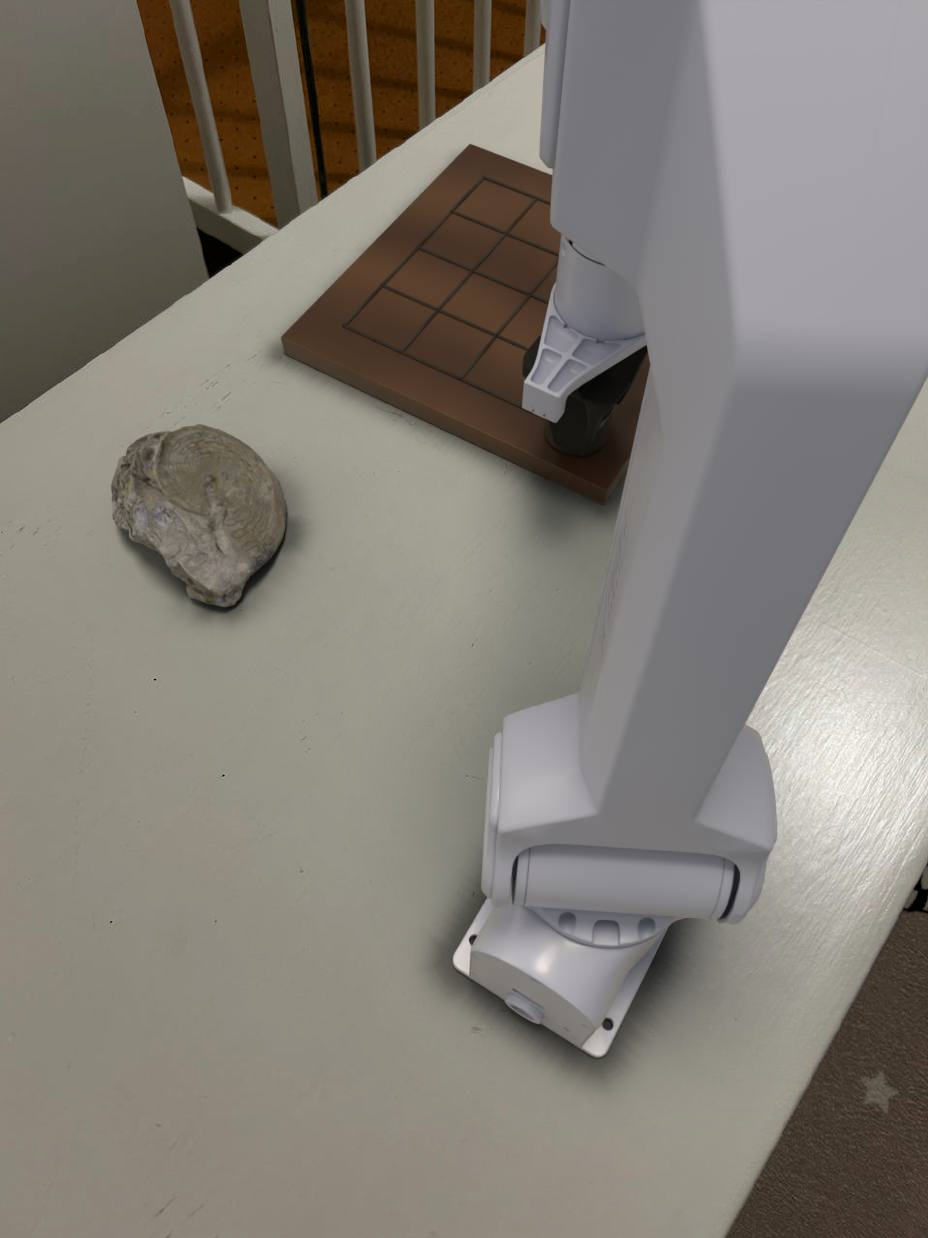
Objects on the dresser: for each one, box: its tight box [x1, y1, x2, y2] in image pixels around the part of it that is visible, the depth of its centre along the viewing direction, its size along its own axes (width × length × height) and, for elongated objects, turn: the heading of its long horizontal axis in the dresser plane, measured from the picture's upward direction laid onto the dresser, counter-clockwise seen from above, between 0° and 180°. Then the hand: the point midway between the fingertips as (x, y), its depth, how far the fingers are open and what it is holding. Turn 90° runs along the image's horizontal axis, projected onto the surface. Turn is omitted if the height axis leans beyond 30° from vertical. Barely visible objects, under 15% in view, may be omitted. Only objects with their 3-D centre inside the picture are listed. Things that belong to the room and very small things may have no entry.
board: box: [280, 143, 650, 506], centre depth 66 cm, size 24×24×2 cm
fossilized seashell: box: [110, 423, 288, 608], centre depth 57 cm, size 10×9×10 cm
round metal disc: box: [544, 407, 614, 455], centre depth 58 cm, size 4×4×3 cm
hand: (588, 419), depth 58 cm, fingers closed on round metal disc, 4 cm apart
